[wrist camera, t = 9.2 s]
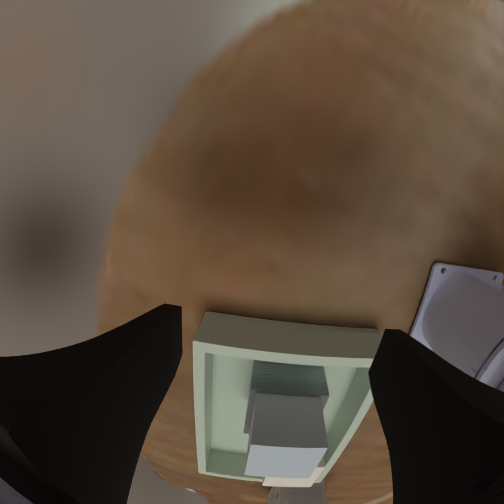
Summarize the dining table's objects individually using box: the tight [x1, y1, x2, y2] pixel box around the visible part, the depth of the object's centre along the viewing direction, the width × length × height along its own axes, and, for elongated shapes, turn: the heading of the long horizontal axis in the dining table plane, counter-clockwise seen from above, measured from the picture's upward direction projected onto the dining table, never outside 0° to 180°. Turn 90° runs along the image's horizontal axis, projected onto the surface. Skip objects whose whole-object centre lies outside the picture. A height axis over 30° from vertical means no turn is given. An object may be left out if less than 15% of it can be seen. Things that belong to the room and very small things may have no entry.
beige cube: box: [262, 455, 325, 487], centre depth 22 cm, size 5×5×5 cm
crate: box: [193, 311, 382, 483], centre depth 22 cm, size 14×20×4 cm
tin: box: [243, 360, 329, 434], centre depth 20 cm, size 6×6×4 cm
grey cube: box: [244, 393, 328, 478], centre depth 16 cm, size 4×4×4 cm
